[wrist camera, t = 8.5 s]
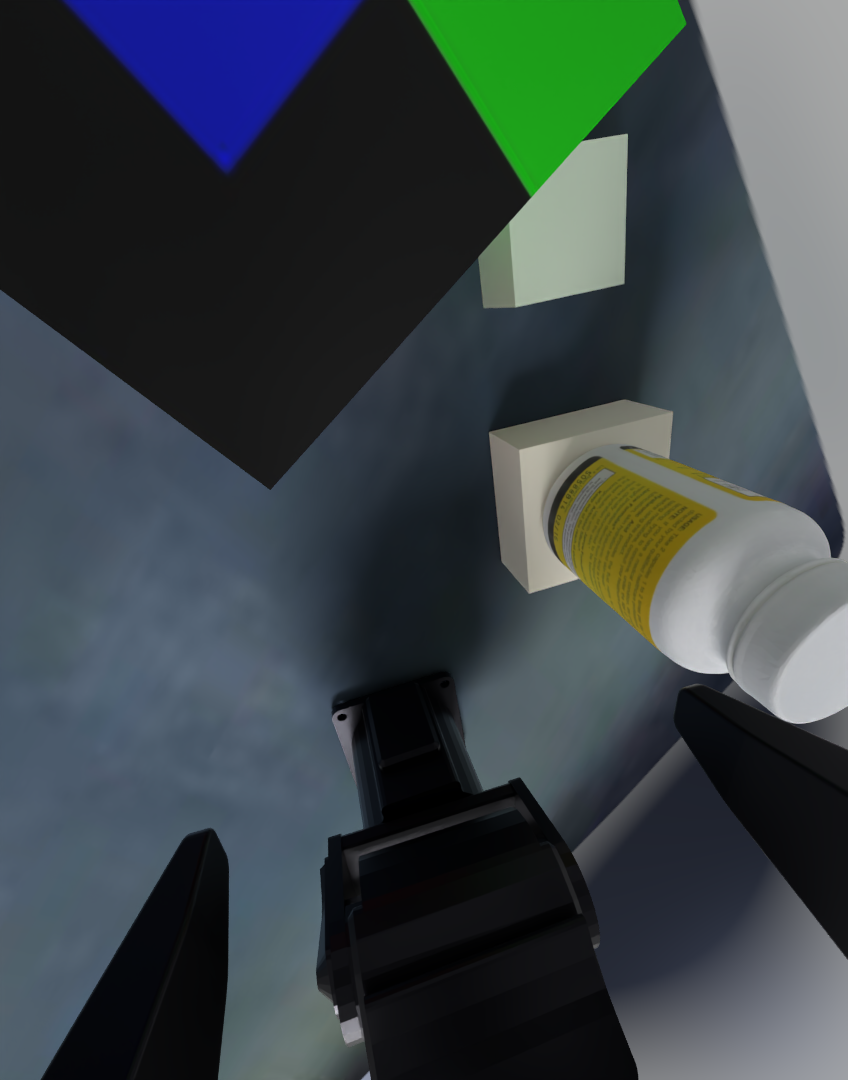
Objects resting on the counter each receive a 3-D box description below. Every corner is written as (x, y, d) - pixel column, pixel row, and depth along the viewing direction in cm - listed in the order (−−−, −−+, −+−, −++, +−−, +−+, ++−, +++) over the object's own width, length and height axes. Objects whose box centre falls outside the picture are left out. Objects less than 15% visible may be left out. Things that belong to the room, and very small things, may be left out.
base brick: (619, 528, 24) (660, 554, 21) (501, 561, 23) (529, 593, 20) (624, 399, 21) (673, 411, 18) (488, 431, 20) (519, 449, 17)
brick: (576, 287, 19) (624, 283, 16) (482, 308, 18) (515, 307, 15) (574, 161, 17) (627, 133, 14) (468, 179, 16) (504, 154, 13)
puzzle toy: (-27, 139, 13) (-712, -239, 4) (205, -206, 11) (-68, -1968, 3) (278, 401, 17) (270, 489, 9) (468, 180, 16) (686, 24, 7)
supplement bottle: (543, 580, 20) (732, 775, 12) (532, 462, 18) (765, 603, 9) (653, 542, 21) (907, 701, 12) (658, 424, 18) (982, 522, 10)
